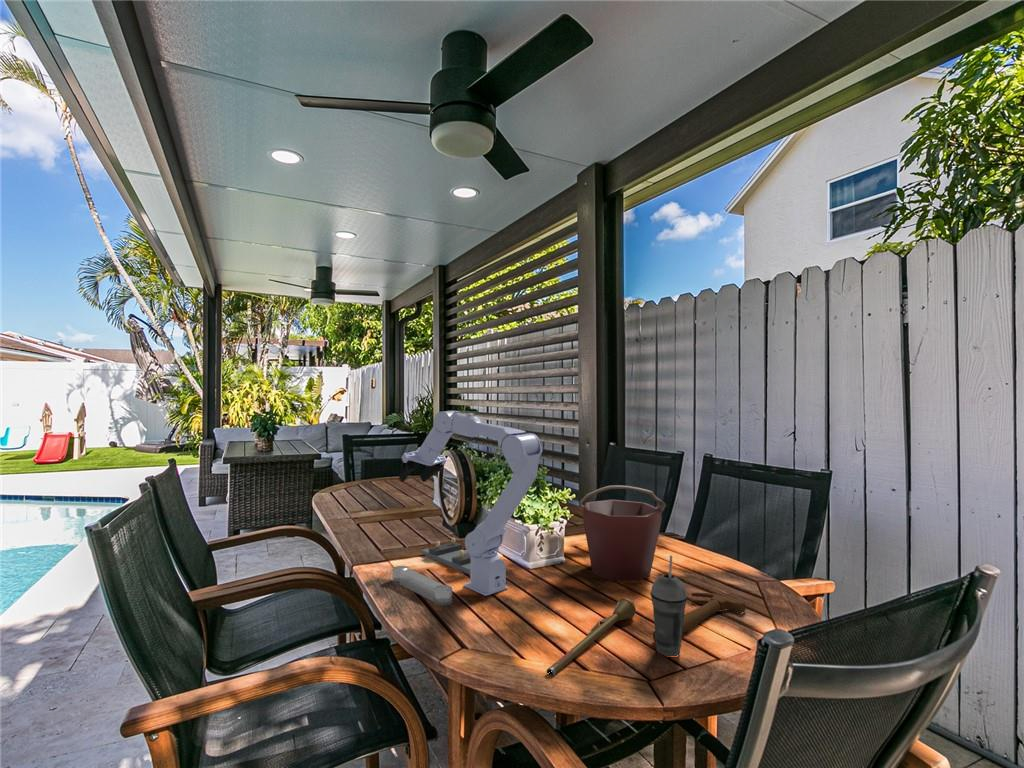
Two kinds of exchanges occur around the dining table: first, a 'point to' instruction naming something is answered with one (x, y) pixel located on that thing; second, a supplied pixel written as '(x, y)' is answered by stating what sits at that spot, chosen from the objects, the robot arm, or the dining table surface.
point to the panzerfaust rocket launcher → (597, 632)
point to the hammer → (709, 609)
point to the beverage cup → (668, 612)
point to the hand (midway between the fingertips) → (411, 479)
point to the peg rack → (450, 555)
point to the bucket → (621, 535)
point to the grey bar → (423, 585)
